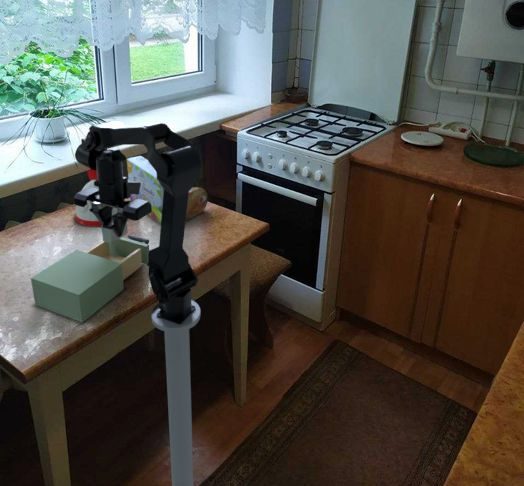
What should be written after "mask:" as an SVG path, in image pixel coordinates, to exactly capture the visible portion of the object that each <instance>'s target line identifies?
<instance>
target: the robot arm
mask: <svg viewBox="0 0 524 486" xmlns="http://www.w3.org/2000/svg"><path fill="white" fill-rule="evenodd" d="M88 130H89V131H88V132H87V134H86V137H84V138H81V139H80V142H81V143H80V144H79V145H78V146H77V147H76V150H75V153H74V158H75V160H76V162H77V163H79V164H80V165H82V166H84V167H86V168H89V169H92V170H96V171H97V178H98V180H97V181H95V182H94V186H97V187H98V189H96V188H92V187H88V188H86V189H84V190H82V189H81V190H80V191H79V192H76V194H75V195H74V206H76V205H77V206H81V207H85V206H86V205H87V200H88V201H90V203H91V207H92V208H91V209H89V210H90V212H92V213H93V214H94V215H95V217H96V218H97V219H98V220H99V221H100V223H101V224H102V225H103V224H105V223H106V222H108V221H110V220H111V219H112V220H113V223H114V226H115V230H116V233H117V235H118V237H120V236H122V234H123V231H124V228H125V225H126V222H127V223H128V220H129V221H134V222H137V221H140V220H141V219H143V218H145V217H147V216H149V213H151V212H152V206H151V203H150V202H149V201H145V200H141V199H135V200H133V201H131V200H128V199H130V197H131V194H136V195H139V191H140V185H141V182H138V181H133V180H129V178H128V176H124V170H123V169H124V168H123V162H124V161H127V159H128V158H127V156H126V155H125V154H124V153H123V152H121V150H120V149H116V150H115V149H112V148H116V147H120V146H131V145H132V146H135V145H136V146H137V145H144V147H145V148H146V153H147V160H148V161H149V163H150V164H151V165H152V167H153V168H154V169H155V171H156V173H157V180H158V181H159V183H160V184H161V186H162V187H163V189H164V193H163V205H162V217H161V224H160V231H159V242H158V246H156V247H154V248H151V249H149V254H148V258H149V259H148V264H146V266H147V267H148V269H147V270H148V272H147V273H148V275H147V276H148V278H149V283H150V286H151V290H152V293H153V294H154V295H155V296H156V297H155V298H156V300H157V301H158V304H159V309H160V311H159V312H158V313H157V314H156V316H157V317H159V318H162V319H165V320H168V321H171V322H173V323H176V324H182V323H183V322H184V321H185V320H186V318H187V317H188V316H189V315H190V314H191V313H192V312H193V311H194V310H195V306H193V305H191V300H192V288H195V287H196V286H198V282H199V278H198V276H197V275H196V273H195V272H194V269H193V268H192V266H191V263H190V260H189V258H190V257H189V255H188V253H187V252H186V251H185V249H184V240H185V239H184V238H185V230H186V221H187V220H186V213H187V204H188V195H189V191H190V189H191V188H193V187H194V185H195V184H196V183H197V181H198V179H199V176H200V172H201V169H202V158H201V155H200V153H199V152H198V151H197V149H196V148H195V147H194V146H193V145H192V143H191V142H190V141H189V140H188V139H187V138H186V137H184V136H181V135H180V134H178V133H176V132H174V131H172V129H171V128H170V127H169V126H168V125H167V124H166V123H164V122H156V123H147V124H132V125H126V124H125V122H122V121H118V120H112V121H108V122H103V123H98V124H93V125H90V126H89V128H88ZM162 143H164V145H166V146H167V147H169V148H171V149H172V150H168V151H165V152H161V153H160V152H159V151H158V150H157V148H156V144H162ZM126 199H127V200H126ZM113 208H117V210H118V211H117V213H116V214H114V215H112V209H113Z"/></svg>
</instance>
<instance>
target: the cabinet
mask: <svg viewBox="0 0 524 486" xmlns="http://www.w3.org/2000/svg"><path fill="white" fill-rule="evenodd" d="M30 281H31V287H32V294H33V300H34V304H35V306H37V307H40V308H43V309H45V310H48V311H50V312H53V313H55V314H58V315H61V316H64V317H66V318H69V319H71V320H74V321H77V322H80V323H84V322H85V321H87V320H88V319H89V318H90V317H92V316H93V315H94V314H95V313H97V312H98V311H99V310H100V309H101V308H103V307H105V305H106V304H107V303H109V302H110V301H111V300H113V299H114V298H115V297H116V296H117V295H119V294H120V293H121V292H122V291H124V289H125V287H124V280H123V274H122V264H121V263H118V262H115V261H111V260H108V259H105V258H102V257H98V256H95V255H92V254H89V253H86V251H82V250H79V249H75V250H73V251H71V252H70V253H68V254H66V256H64V257H62V258H61V259H59V260H58V261H56V262H54V263H52V264H51V265H49V266H48V267H46V268H44V269H43V270H42V271H40V272H38V273H36V274H35V275H33V276H32V277H30Z"/></svg>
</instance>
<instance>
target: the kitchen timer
mask: <svg viewBox="0 0 524 486" xmlns="http://www.w3.org/2000/svg"><path fill="white" fill-rule="evenodd" d="M86 173H87V176H88V179H89V181H88V182H87V183H86V184H85V185H84V186H83V188H82V189H81V191H82V190H84V189H86V188H88V187H92V188H96V189H98V187H97V186H94V182H95V181H97V180H98V178H97V170H92V169H90V168H89V170H87V171H86ZM91 208H92V207H91V203H90V201H88V200H87V205H86V206H85V207H81V206H77V205H75V218H76V219H75V220H76V221H77V223H79V224H81V225H83V226H87V227H88V226H89V227H102V224H101V223H100V221H99V220H98V219H97V218H96V217H95V215H94V214H93V213H92V212H90V210H89V209H91ZM117 211H118V210H117V208H113V209H112V215H114V214H116V213H117Z"/></svg>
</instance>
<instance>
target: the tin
mask: <svg viewBox="0 0 524 486" xmlns="http://www.w3.org/2000/svg"><path fill="white" fill-rule="evenodd" d="M208 200H209V195H208V192H207V191H206V189H205V188H203V187H197V186H193V187H192V188H191V189H190V191H189V195H188V204H187V213H186V221H188V220H190V219H192V218H194V217H196V216H198V215H200V214H201V213H203V212H204V210H205V209H206V207H207V205H208Z"/></svg>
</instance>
